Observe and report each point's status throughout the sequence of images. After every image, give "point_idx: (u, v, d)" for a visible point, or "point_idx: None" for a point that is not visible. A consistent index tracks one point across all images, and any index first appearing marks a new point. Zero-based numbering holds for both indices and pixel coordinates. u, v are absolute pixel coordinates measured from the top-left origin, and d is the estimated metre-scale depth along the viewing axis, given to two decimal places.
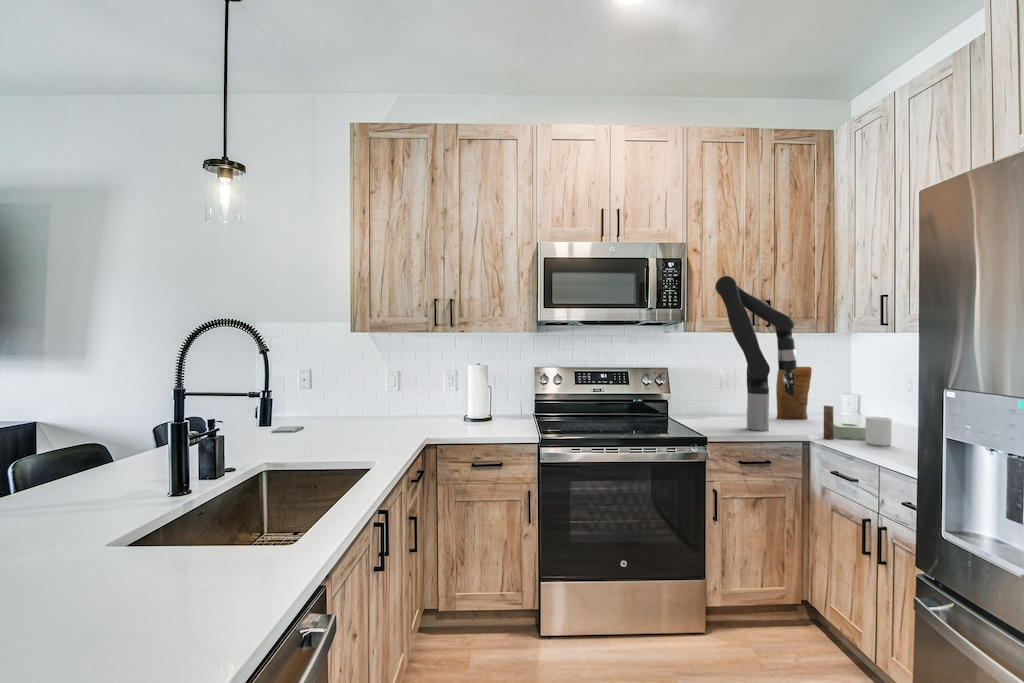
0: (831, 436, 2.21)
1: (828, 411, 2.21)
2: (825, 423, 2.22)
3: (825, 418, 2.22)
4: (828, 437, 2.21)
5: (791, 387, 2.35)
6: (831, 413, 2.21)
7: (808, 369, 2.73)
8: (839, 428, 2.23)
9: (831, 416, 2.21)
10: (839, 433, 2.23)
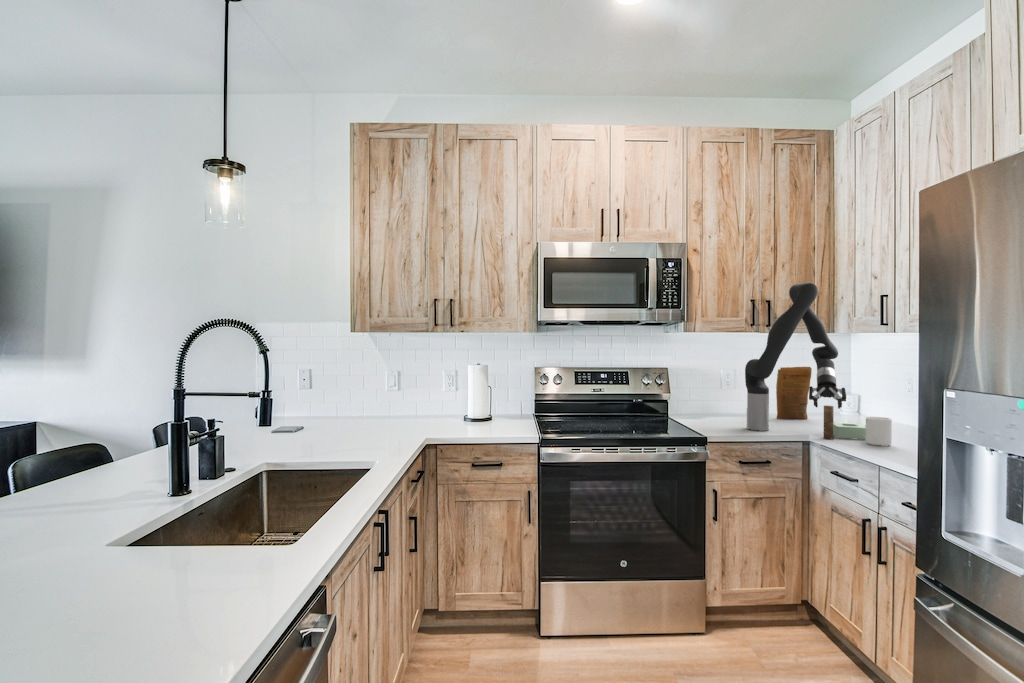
0: (831, 436, 2.21)
1: (828, 411, 2.21)
2: (825, 423, 2.22)
3: (825, 418, 2.22)
4: (828, 437, 2.21)
5: (841, 401, 2.27)
6: (831, 413, 2.21)
7: (808, 369, 2.73)
8: (839, 428, 2.23)
9: (831, 416, 2.21)
10: (839, 433, 2.23)
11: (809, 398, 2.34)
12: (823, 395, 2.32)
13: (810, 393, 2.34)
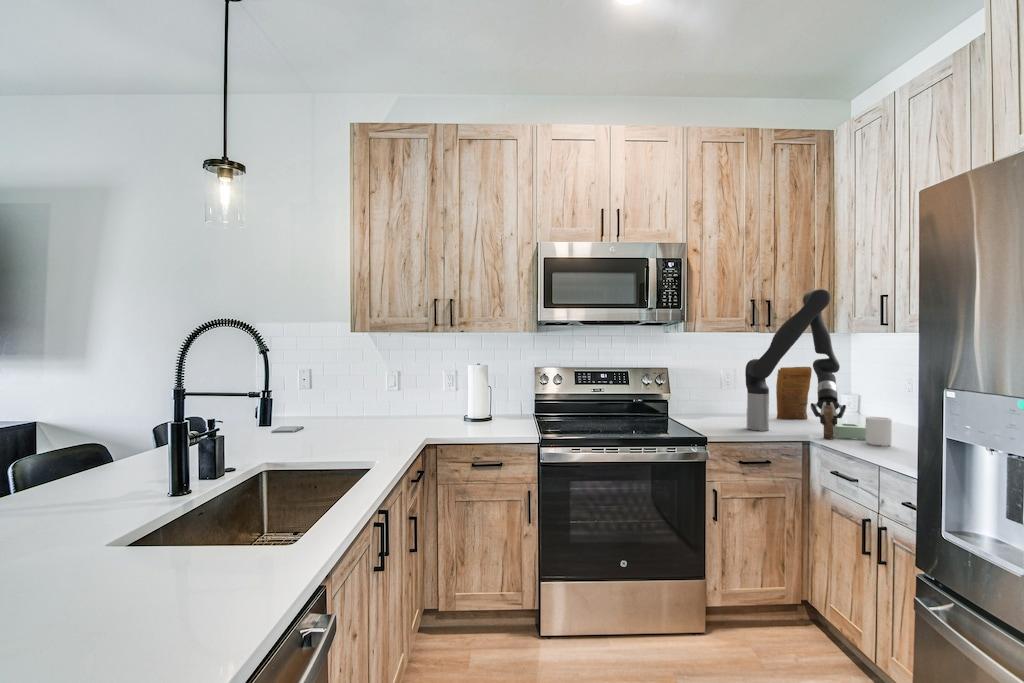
0: (831, 436, 2.21)
1: (828, 411, 2.21)
2: (825, 423, 2.22)
3: (825, 418, 2.22)
4: (828, 437, 2.21)
5: None
6: (831, 413, 2.21)
7: (808, 369, 2.73)
8: (839, 428, 2.23)
9: (831, 416, 2.21)
10: (839, 433, 2.23)
11: (815, 415, 2.26)
12: None
13: (815, 410, 2.26)
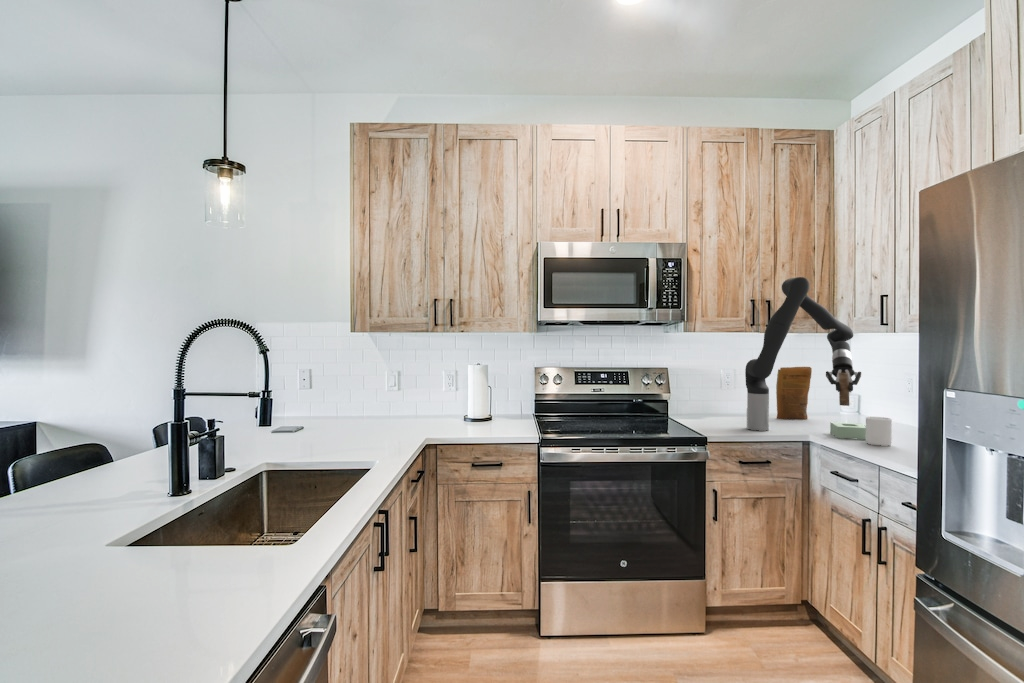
0: (847, 402, 2.23)
1: (844, 377, 2.23)
2: (841, 390, 2.24)
3: (841, 385, 2.24)
4: (844, 403, 2.24)
5: (852, 384, 2.24)
6: (847, 380, 2.23)
7: (808, 369, 2.73)
8: (839, 428, 2.23)
9: (847, 383, 2.23)
10: (839, 433, 2.23)
11: (831, 383, 2.29)
12: None
13: (830, 378, 2.29)
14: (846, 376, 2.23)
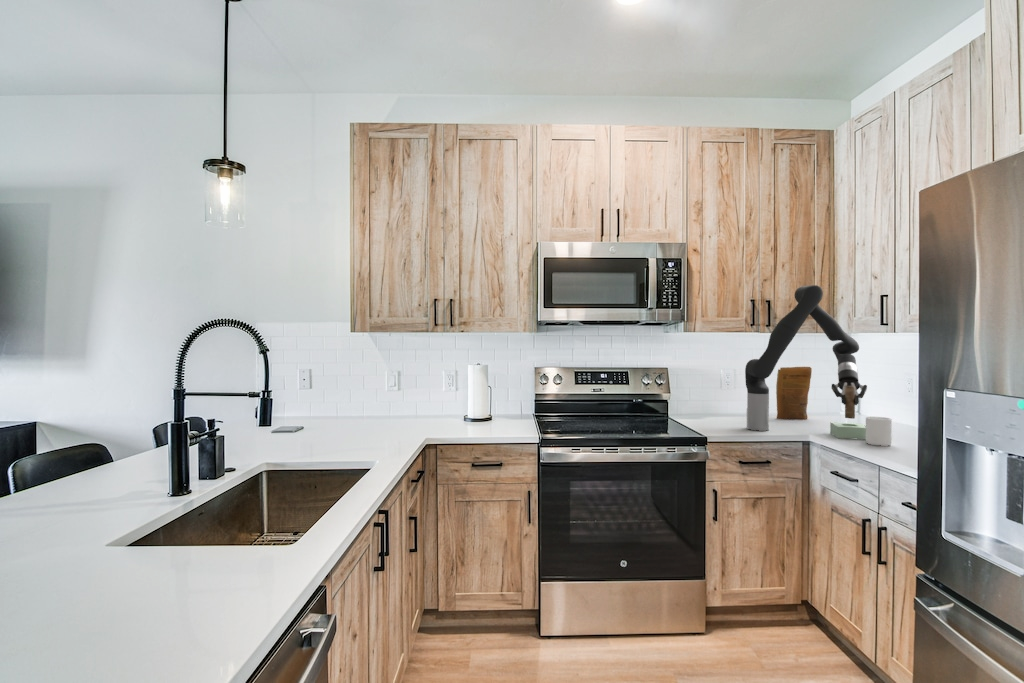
0: (853, 415, 2.25)
1: (850, 390, 2.25)
2: (847, 403, 2.26)
3: (846, 397, 2.26)
4: (850, 416, 2.25)
5: (858, 397, 2.26)
6: (852, 393, 2.25)
7: (808, 369, 2.73)
8: (839, 428, 2.23)
9: (852, 396, 2.25)
10: (839, 433, 2.23)
11: (836, 395, 2.30)
12: None
13: (836, 390, 2.30)
14: (852, 389, 2.25)
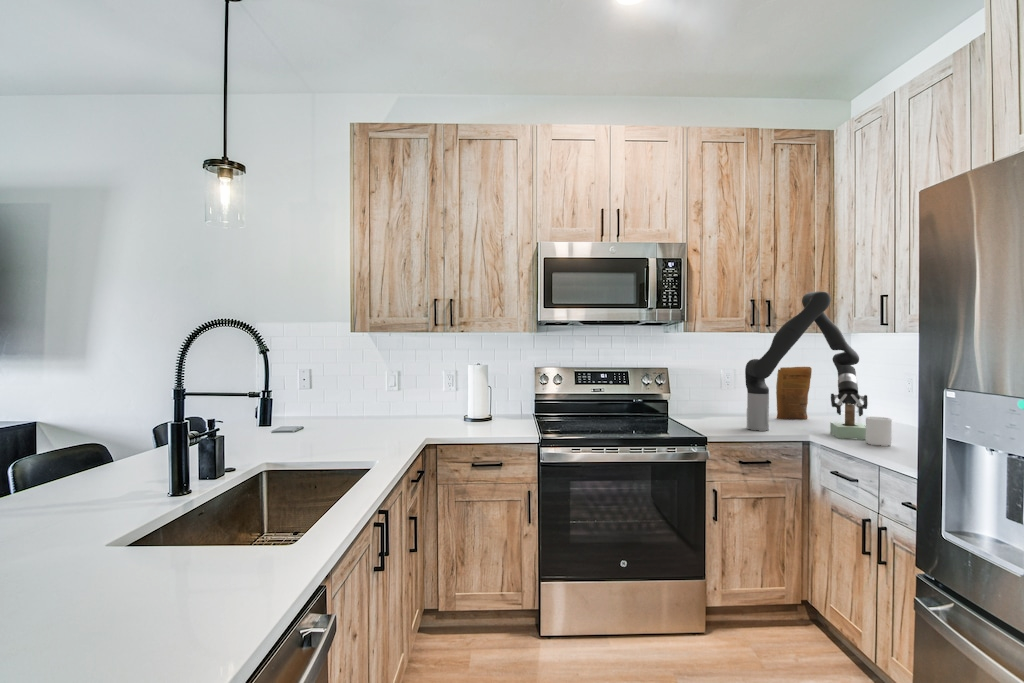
0: None
1: (850, 409, 2.25)
2: (846, 421, 2.26)
3: (846, 416, 2.26)
4: None
5: (862, 408, 2.25)
6: (852, 411, 2.25)
7: (808, 369, 2.73)
8: (839, 428, 2.23)
9: (852, 414, 2.25)
10: (839, 433, 2.23)
11: (832, 405, 2.32)
12: (846, 402, 2.30)
13: (833, 400, 2.31)
14: (852, 408, 2.25)
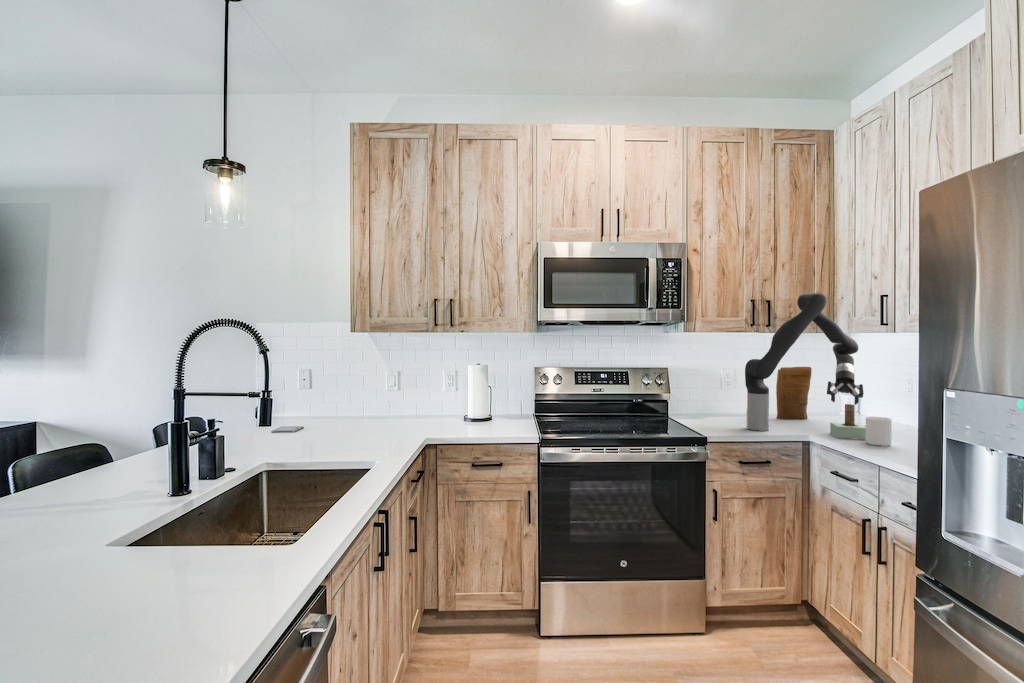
0: None
1: (850, 409, 2.25)
2: (846, 421, 2.26)
3: (846, 416, 2.26)
4: None
5: (858, 397, 2.37)
6: (852, 411, 2.25)
7: (808, 369, 2.73)
8: (839, 428, 2.23)
9: (852, 414, 2.25)
10: (839, 433, 2.23)
11: (827, 393, 2.44)
12: (841, 391, 2.41)
13: (828, 388, 2.43)
14: (852, 408, 2.25)
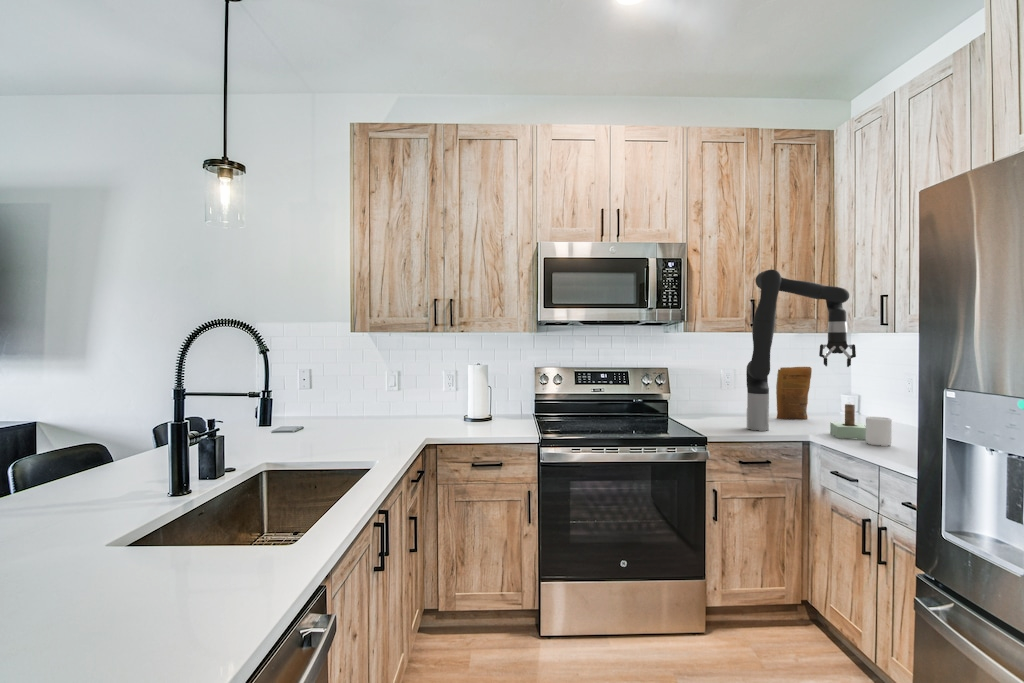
0: None
1: (850, 409, 2.25)
2: (846, 421, 2.26)
3: (846, 416, 2.26)
4: None
5: None
6: (852, 411, 2.25)
7: (808, 369, 2.73)
8: (839, 428, 2.23)
9: (852, 414, 2.25)
10: (839, 433, 2.23)
11: None
12: None
13: (820, 353, 2.41)
14: (852, 408, 2.25)
